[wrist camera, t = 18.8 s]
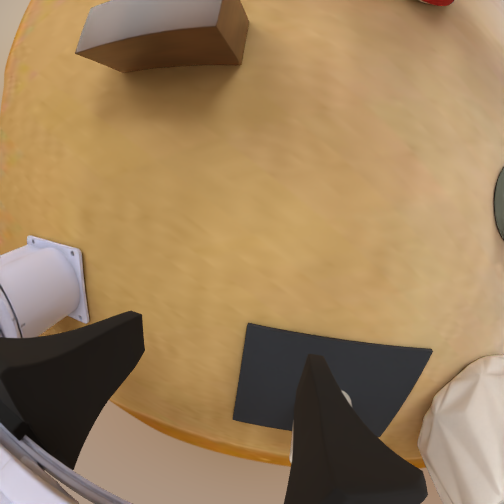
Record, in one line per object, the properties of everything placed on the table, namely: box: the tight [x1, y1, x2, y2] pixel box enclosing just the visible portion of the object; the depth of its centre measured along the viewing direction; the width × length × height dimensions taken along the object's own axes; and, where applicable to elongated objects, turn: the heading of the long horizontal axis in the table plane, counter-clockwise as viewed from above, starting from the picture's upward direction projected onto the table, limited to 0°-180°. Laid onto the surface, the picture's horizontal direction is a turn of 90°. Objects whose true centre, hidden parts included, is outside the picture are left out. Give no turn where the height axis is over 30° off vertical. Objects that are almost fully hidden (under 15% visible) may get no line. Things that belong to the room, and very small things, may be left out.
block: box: [75, 0, 249, 73], centre depth 13 cm, size 10×4×6 cm, turn 82°
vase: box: [418, 354, 504, 504], centre depth 12 cm, size 14×14×15 cm
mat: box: [233, 323, 433, 437], centre depth 21 cm, size 16×12×1 cm
